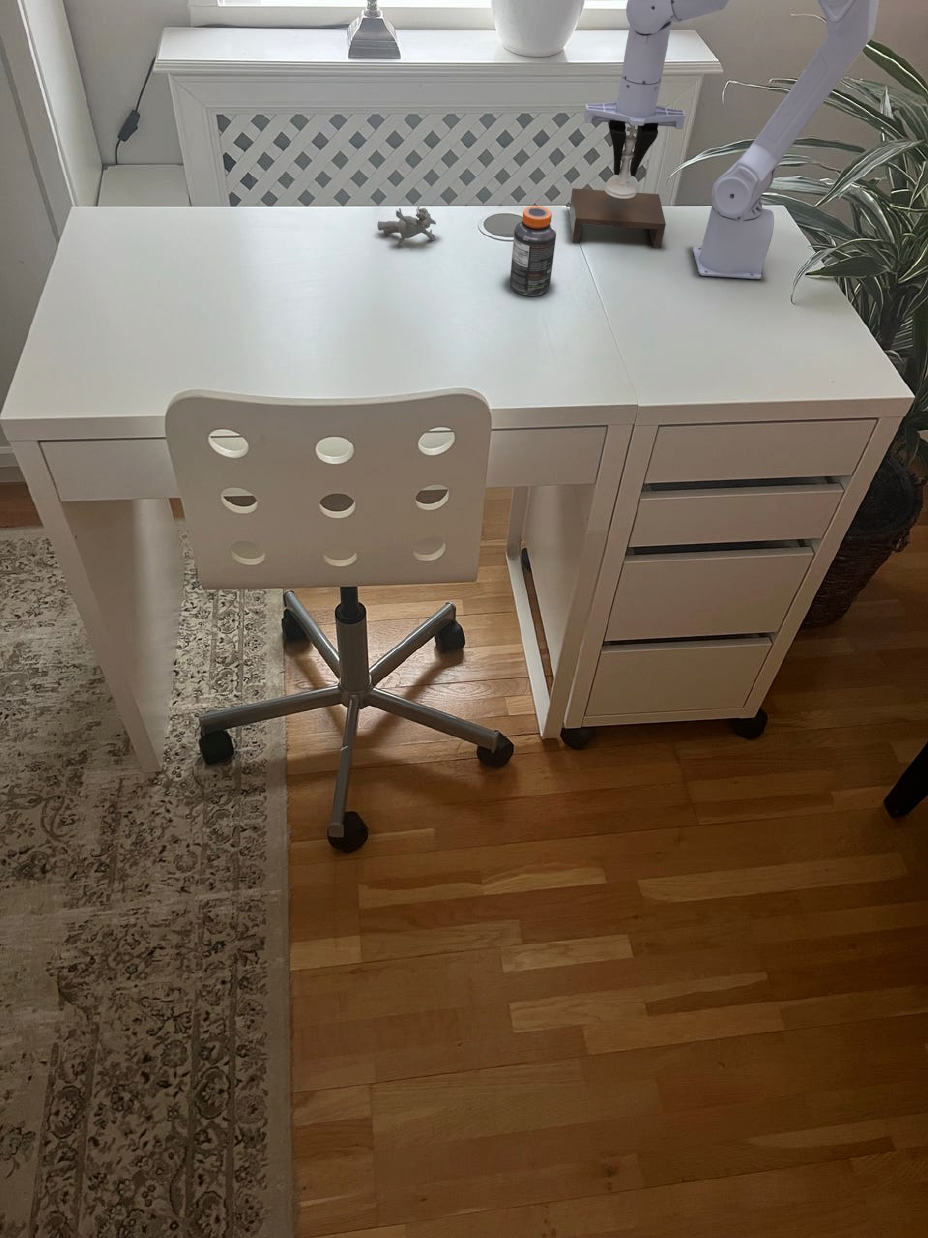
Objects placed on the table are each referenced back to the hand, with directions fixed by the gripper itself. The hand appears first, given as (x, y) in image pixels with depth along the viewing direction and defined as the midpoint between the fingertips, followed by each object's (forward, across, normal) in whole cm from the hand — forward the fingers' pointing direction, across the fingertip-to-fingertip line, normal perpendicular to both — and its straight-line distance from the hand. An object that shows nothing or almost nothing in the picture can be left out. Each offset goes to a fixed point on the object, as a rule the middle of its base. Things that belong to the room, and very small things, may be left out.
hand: (624, 172), depth 148 cm
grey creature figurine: (+9, -33, -9) cm, 35 cm away
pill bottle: (+9, -14, -19) cm, 25 cm away
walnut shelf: (+9, 0, 0) cm, 9 cm away
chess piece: (+3, 0, 0) cm, 3 cm away
